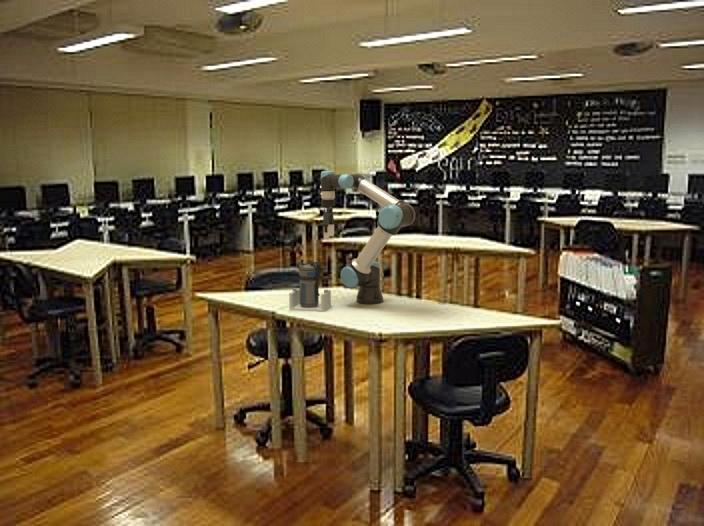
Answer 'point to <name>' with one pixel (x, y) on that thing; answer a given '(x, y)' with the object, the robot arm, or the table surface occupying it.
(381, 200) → the robot arm
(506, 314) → the table surface
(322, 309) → the holder
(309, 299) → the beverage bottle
